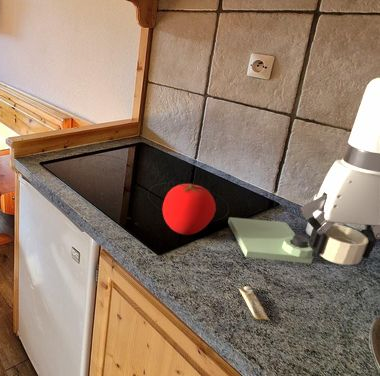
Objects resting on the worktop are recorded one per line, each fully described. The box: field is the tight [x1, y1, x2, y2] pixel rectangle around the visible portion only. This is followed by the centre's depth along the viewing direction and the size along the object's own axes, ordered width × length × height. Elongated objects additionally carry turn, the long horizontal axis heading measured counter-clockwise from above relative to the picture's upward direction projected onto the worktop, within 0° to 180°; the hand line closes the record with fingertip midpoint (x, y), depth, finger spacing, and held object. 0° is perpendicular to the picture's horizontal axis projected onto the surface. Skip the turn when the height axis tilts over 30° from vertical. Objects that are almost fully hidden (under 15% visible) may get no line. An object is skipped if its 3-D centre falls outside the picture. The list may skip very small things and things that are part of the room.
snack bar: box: [236, 285, 271, 323], centre depth 77 cm, size 10×2×3 cm
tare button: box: [291, 234, 309, 248], centre depth 91 cm, size 3×3×2 cm
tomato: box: [162, 182, 217, 236], centre depth 100 cm, size 12×12×13 cm
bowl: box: [319, 224, 369, 266], centre depth 71 cm, size 7×7×4 cm
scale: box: [227, 216, 314, 264], centre depth 98 cm, size 14×16×4 cm
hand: (337, 251), depth 72 cm, fingers closed on bowl, 6 cm apart
